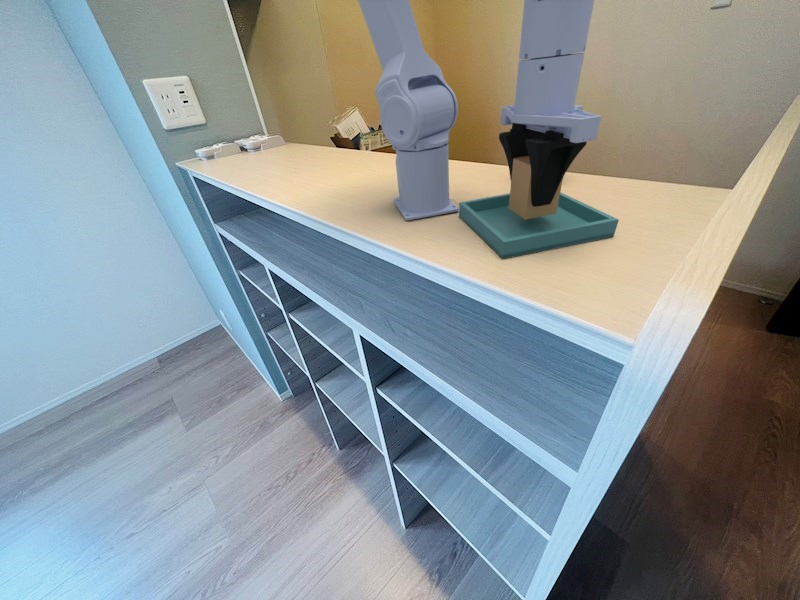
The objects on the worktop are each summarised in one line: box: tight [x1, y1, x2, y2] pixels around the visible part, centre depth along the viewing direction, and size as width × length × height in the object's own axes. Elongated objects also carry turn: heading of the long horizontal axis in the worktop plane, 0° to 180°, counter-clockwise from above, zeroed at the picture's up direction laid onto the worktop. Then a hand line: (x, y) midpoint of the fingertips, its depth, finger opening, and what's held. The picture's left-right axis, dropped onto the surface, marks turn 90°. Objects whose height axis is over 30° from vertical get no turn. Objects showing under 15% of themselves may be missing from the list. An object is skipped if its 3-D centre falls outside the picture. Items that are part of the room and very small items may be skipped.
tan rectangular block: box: [509, 156, 564, 219], centre depth 37 cm, size 4×4×6 cm
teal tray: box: [458, 191, 619, 260], centre depth 40 cm, size 13×13×2 cm
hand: (531, 198), depth 38 cm, fingers closed on tan rectangular block, 4 cm apart
